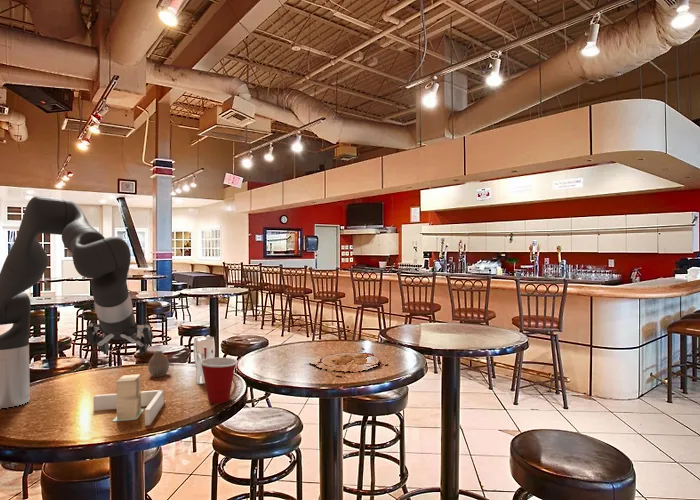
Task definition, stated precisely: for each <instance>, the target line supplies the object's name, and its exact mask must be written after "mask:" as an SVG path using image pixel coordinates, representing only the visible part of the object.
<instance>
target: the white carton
mask: <svg viewBox="0 0 700 500" xmlns="http://www.w3.org/2000/svg"><path fill="white" fill-rule="evenodd" d="M215 355H216V346H215V337H214V336H210V335H209V336H206V335H205V336H198V337H195V338H193V359H194V365H195V370H196V372H195V373H196V374H195V376H196V377H195V384H196V385H201V386H202V385H205V379H204V374H203V369H202V365H201V363H200V361H201V360H204V359H208V358H216V357H215Z"/></svg>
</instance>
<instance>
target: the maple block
mask: <svg viewBox="0 0 700 500" xmlns="http://www.w3.org/2000/svg"><path fill="white" fill-rule="evenodd" d="M141 379H142V378H141V374H140V373H138V374H137V373H136V374H127V375H125V374H123V375H122V376H121V377H120V378H119V379H118V380H116V383H115V385H116V393H117V409H116V416H117V419H126V418H135V417H136V416H137V415H138V413H139V412H140V410H141V409H142V406H141V387H142V386H141V385H142V384H141Z"/></svg>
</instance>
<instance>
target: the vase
mask: <svg viewBox="0 0 700 500" xmlns="http://www.w3.org/2000/svg"><path fill="white" fill-rule="evenodd" d="M147 365H148V366H147V368H148V373H149V374H150V376H152V377H153V378H160V377H161V378H162V377H164V376H165V375H167V373H168V371H169V368H170V363H169V359H168V357H167V356H166V355H165V354H164V353H163V351H162V350H155V352H154V353H153V355H152V356H151V358H150V359H149V361H148V364H147Z"/></svg>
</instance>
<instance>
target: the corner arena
mask: <svg viewBox="0 0 700 500" xmlns="http://www.w3.org/2000/svg"><path fill="white" fill-rule="evenodd" d="M164 404H165V390H164V389H157V390H156V389H155V390H143V391H141V407H143V408H141V410H140V412H139V413H138V415H137V416H136V417H135V418H126V419H117V415H116V416H115V417H114V418H113V420H111V422H112V423H114V422H115V423H116V422H124V421H134V420H138V418H140V416H141V415H142V414H143V412H144V426H151V425H152V423H153V421H154V420H155V418H156V417H157V415H158V414H159V412H160V411H161V409H162V407H163V406H164ZM144 407H146V408H144ZM105 410H117V392H116V393H105V394H104V393H103V394H94V395H93V412H95V411H105Z"/></svg>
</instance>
